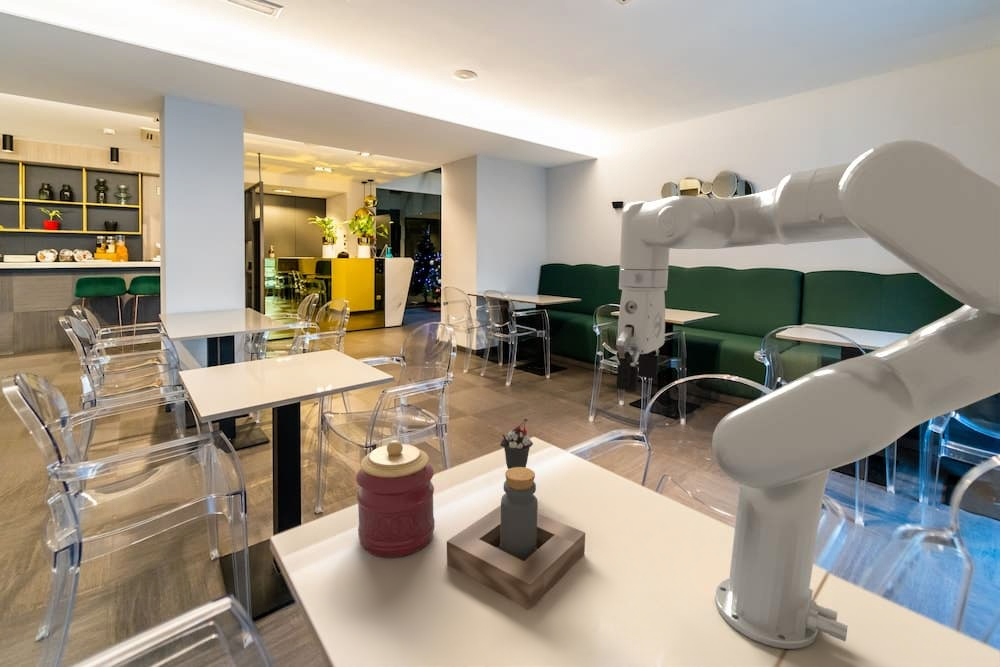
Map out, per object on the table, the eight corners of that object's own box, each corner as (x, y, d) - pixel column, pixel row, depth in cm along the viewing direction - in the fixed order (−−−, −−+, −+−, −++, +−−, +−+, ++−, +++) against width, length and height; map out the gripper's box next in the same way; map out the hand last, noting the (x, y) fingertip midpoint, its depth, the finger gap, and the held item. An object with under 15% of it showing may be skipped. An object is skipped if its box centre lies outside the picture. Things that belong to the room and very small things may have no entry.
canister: (352, 526, 88) (347, 433, 85) (421, 509, 94) (419, 422, 91) (367, 568, 77) (363, 463, 74) (445, 546, 83) (444, 448, 80)
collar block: (584, 554, 81) (585, 532, 80) (529, 610, 69) (530, 584, 68) (507, 520, 91) (507, 500, 90) (446, 563, 78) (446, 541, 78)
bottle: (536, 549, 82) (539, 466, 80) (535, 572, 76) (538, 483, 74) (501, 547, 83) (503, 464, 80) (498, 569, 77) (499, 480, 74)
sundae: (537, 485, 104) (539, 418, 101) (521, 499, 98) (523, 428, 96) (510, 477, 107) (512, 412, 105) (494, 490, 102) (495, 421, 99)
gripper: (647, 284, 70) (641, 399, 73) (681, 279, 84) (675, 376, 87) (599, 282, 74) (594, 391, 77) (639, 277, 88) (634, 369, 91)
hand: (637, 383), depth 82 cm, fingers open, 9 cm apart
